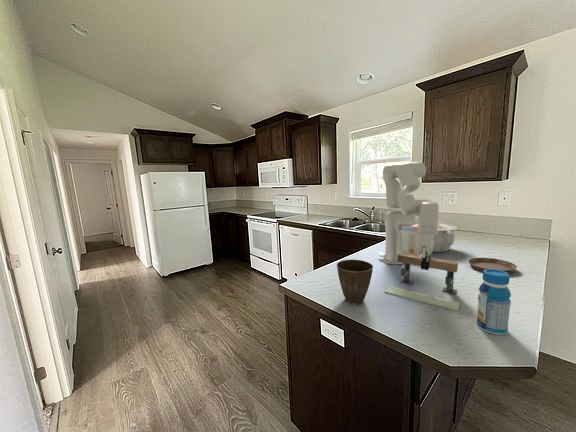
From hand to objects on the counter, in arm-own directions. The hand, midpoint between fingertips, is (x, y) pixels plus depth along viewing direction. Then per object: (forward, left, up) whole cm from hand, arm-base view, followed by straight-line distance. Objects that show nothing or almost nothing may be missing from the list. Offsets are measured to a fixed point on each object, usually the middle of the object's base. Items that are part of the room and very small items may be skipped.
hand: (425, 267), depth 114 cm
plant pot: (-22, -29, -11) cm, 38 cm away
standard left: (-9, +1, -10) cm, 14 cm away
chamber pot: (-9, +71, -11) cm, 72 cm away
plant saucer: (+23, +47, -11) cm, 54 cm away
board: (0, -11, -10) cm, 15 cm away
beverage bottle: (+24, -21, -11) cm, 34 cm away
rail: (0, 0, +1) cm, 1 cm away
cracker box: (-20, +47, -11) cm, 52 cm away
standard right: (+9, +1, -10) cm, 14 cm away
